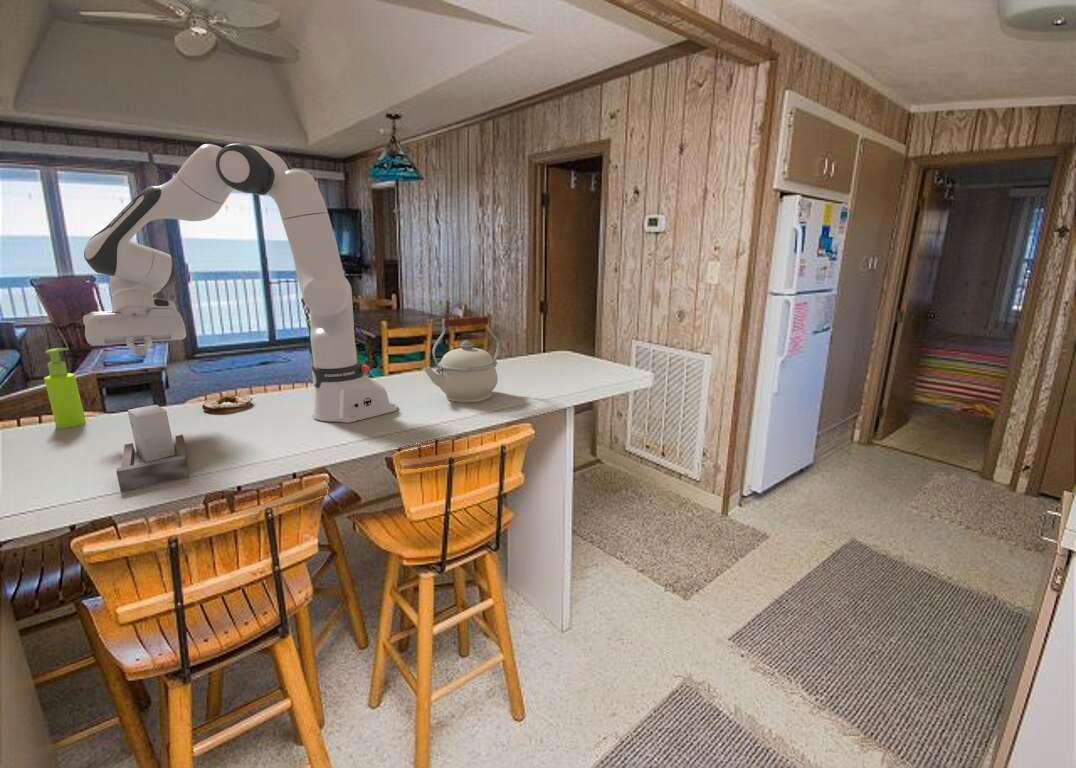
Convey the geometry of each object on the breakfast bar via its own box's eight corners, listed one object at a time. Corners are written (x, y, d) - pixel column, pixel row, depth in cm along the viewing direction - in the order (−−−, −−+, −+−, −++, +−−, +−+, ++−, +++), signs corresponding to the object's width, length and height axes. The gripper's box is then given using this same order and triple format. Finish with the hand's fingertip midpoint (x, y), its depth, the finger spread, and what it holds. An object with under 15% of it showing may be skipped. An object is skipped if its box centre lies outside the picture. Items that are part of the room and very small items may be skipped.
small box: (175, 455, 116) (167, 411, 113) (145, 463, 112) (135, 417, 109) (165, 446, 121) (157, 403, 118) (136, 453, 117) (127, 409, 114)
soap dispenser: (93, 418, 140) (76, 346, 135) (76, 427, 133) (57, 351, 128) (69, 420, 139) (51, 346, 134) (50, 428, 132) (30, 352, 127)
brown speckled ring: (187, 411, 148) (185, 397, 147) (239, 398, 160) (237, 385, 159) (215, 420, 140) (213, 405, 139) (267, 406, 153) (266, 392, 152)
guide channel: (184, 442, 123) (181, 426, 122) (189, 476, 105) (185, 458, 104) (126, 452, 117) (122, 436, 116) (120, 490, 99) (116, 471, 98)
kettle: (486, 385, 175) (484, 311, 168) (513, 398, 160) (512, 318, 153) (415, 396, 162) (410, 316, 155) (437, 411, 147) (432, 324, 140)
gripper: (79, 304, 125) (83, 350, 120) (180, 300, 137) (188, 342, 132) (85, 320, 130) (89, 365, 125) (182, 315, 142) (190, 357, 136)
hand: (140, 354), depth 128 cm, fingers closed
